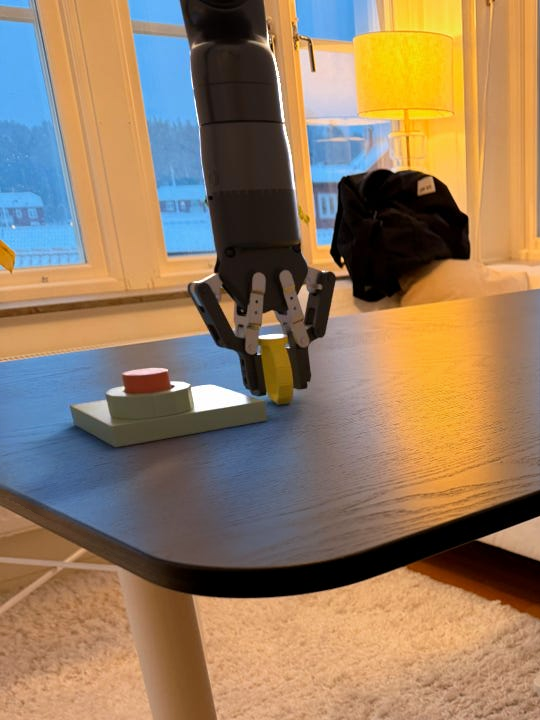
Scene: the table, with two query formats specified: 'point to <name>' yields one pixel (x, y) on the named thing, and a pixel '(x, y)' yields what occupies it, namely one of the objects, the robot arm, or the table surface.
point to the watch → (276, 367)
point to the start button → (146, 380)
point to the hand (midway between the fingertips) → (278, 390)
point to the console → (165, 413)
